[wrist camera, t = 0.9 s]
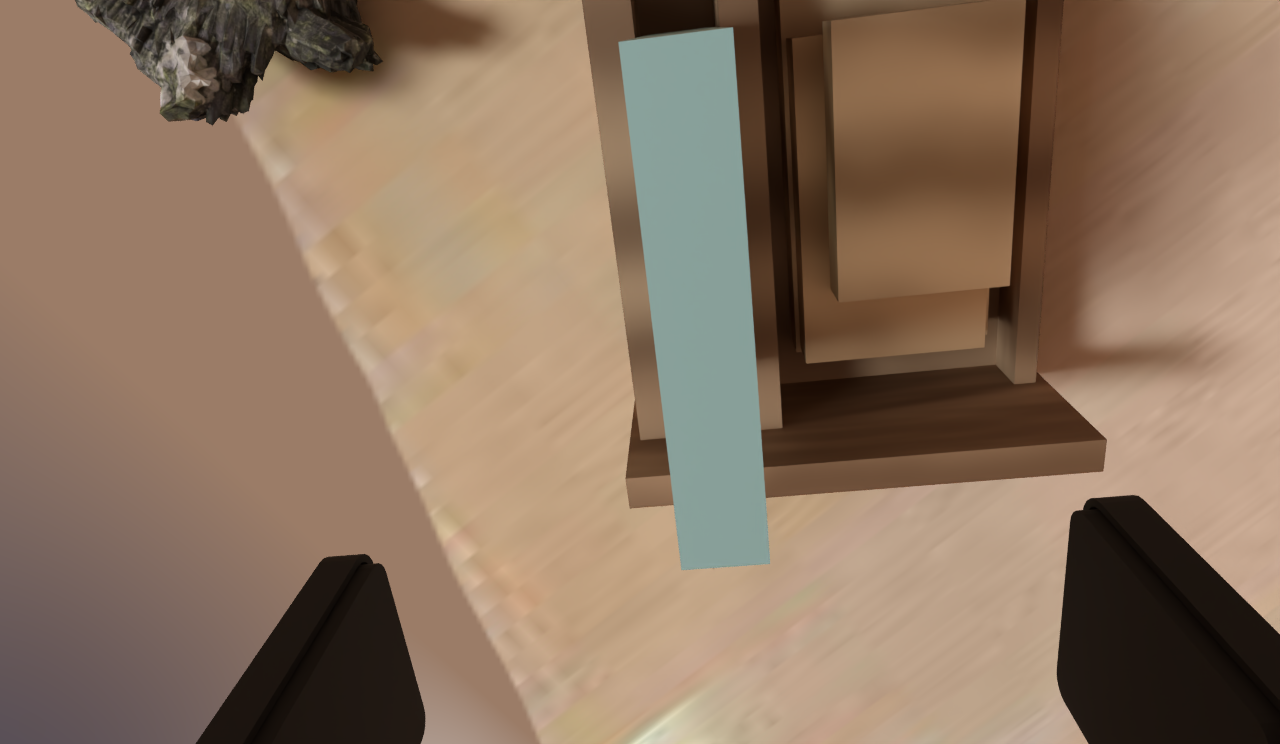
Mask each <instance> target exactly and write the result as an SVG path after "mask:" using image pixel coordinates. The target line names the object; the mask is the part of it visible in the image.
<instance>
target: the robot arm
mask: <svg viewBox="0 0 1280 744" xmlns="http://www.w3.org/2000/svg"><path fill="white" fill-rule="evenodd" d="M1057 680H1058V686H1059V690H1060V693H1061V696H1062V698H1063V700H1064V702H1065V704H1066V706H1067V707H1068V709H1069V711H1070V713H1071V714H1072V716H1073V718H1074V719H1075V721H1076V723H1077V725H1078V726H1079V728H1080V730H1081V731H1082V733H1083V735H1084V737H1085V738H1086V740H1087V742H1088V743H1089V744H1280V634H1279V633H1278V632H1277V631H1276V630H1275V629H1274V628H1273V627H1272V626H1271V625H1270V624H1269V623H1268V622H1267V621H1266V620H1265V619H1264V618H1263V617H1262V616H1261V615H1260V614H1259V613H1258V612H1257V611H1256V610H1255V609H1254V608H1253V607H1252V606H1251V605H1250V604H1248V603H1247V602H1246V601H1245V600H1244V599H1243V598H1242V597H1241V596H1240V595H1239V594H1238V593H1237V592H1236V591H1235V590H1234V589H1233V588H1232V587H1231V586H1230V585H1229V584H1228V583H1227V582H1226V581H1225V580H1224V579H1223V578H1222V577H1221V576H1220V575H1219V574H1218V573H1217V572H1216V571H1215V570H1214V569H1213V568H1212V567H1211V566H1210V565H1209V564H1208V563H1207V562H1206V561H1205V560H1204V559H1203V558H1202V557H1201V556H1200V555H1199V554H1198V553H1197V552H1196V551H1195V550H1194V549H1193V548H1192V547H1191V546H1190V545H1189V544H1188V543H1187V542H1186V541H1185V540H1184V539H1183V538H1182V537H1181V536H1180V535H1179V534H1178V533H1177V532H1176V531H1175V530H1174V529H1173V528H1172V527H1171V526H1170V525H1169V524H1168V523H1167V522H1166V521H1165V520H1164V519H1163V518H1162V517H1161V516H1160V515H1159V514H1158V513H1157V512H1156V511H1155V510H1154V509H1153V508H1152V507H1150V506H1149V505H1148V504H1147V503H1146V502H1145V501H1144V500H1143V499H1142V498H1140V497H1139V496H1135V495H1129V496H1116V497H1103V498H1091V499H1089V500H1087V501H1086V503H1085V505H1084V508H1083V510H1079V511H1075V512H1073V514H1072V516H1071V521H1070V530H1069V541H1068V552H1067V563H1066V574H1065V585H1064V596H1063V607H1062V618H1061V629H1060V640H1059V651H1058V662H1057ZM424 730H425V711H424V706H423V702H422V699H421V695H420V692H419V688H418V684H417V681H416V677H415V674H414V670H413V667H412V663H411V660H410V656H409V652H408V649H407V646H406V642H405V639H404V635H403V631H402V628H401V624H400V620H399V617H398V613H397V610H396V606H395V602H394V599H393V595H392V592H391V588H390V585H389V581H388V578H387V574H386V571H385V569H384V567H383V566H382V565H381V564H379V563H377V564H373V561H372V560H371V558H370V557H369V556H368V555H366V554H359V555H347V556H333V557H326V558H324V559H323V560H322V561H321V562H320V563H319V565H318V566H317V567H316V569H315V570H314V572H313V573H312V575H311V576H310V578H309V579H308V581H307V582H306V584H305V585H304V586H303V588H302V589H301V591H300V592H299V594H298V595H297V597H296V598H295V599H294V601H293V602H292V604H291V605H290V607H289V608H288V610H287V611H286V613H285V614H284V616H283V617H282V619H281V620H280V622H279V623H278V624H277V626H276V627H275V629H274V630H273V632H272V633H271V635H270V636H269V638H268V639H267V640H266V642H265V643H264V645H263V646H262V648H261V649H260V651H259V652H258V653H257V655H256V656H255V658H254V659H253V661H252V662H251V664H250V666H249V667H248V668H247V670H246V671H245V672H244V674H243V675H242V677H241V678H240V680H239V681H238V683H237V684H236V686H235V687H234V689H233V690H232V691H231V693H230V694H229V696H228V697H227V699H226V700H225V702H224V703H223V705H222V706H221V707H220V709H219V711H218V712H217V713H216V715H215V716H214V718H213V719H212V721H211V722H210V724H209V725H208V726H207V728H206V729H205V731H204V732H203V734H202V735H201V737H200V738H199V740H198V741H197V742H196V744H421V741H422V738H423V735H424Z"/></svg>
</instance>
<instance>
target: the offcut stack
mask: <svg viewBox="0 0 1280 744" xmlns="http://www.w3.org/2000/svg"><path fill="white" fill-rule="evenodd" d="M774 8H775V27H776V47H777V66H778V86H779V106H780V125H781V145H782V165H783V184H784V204H785V223H786V243H787V263H788V282H789V302H790V322H791V338H792V341H793V344H794V347H795V349H796V352H802V353H803V356H804V359H805V361H806V364H809V363H820V362H831V361H842V360H853V359H864V358H874V357H885V356H896V355H907V354H918V353H929V352H940V351H951V350H961V349H972V348H983V347H985V335H987V328H988V307H989V288H993V287H1004V286H1010V272H1011V255H1012V237H1013V220H1014V202H1015V184H1016V167H1017V149H1018V132H1019V114H1020V97H1021V79H1022V61H1023V44H1024V26H1025V9H1026V0H774Z"/></svg>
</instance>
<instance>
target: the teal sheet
mask: <svg viewBox="0 0 1280 744" xmlns="http://www.w3.org/2000/svg"><path fill="white" fill-rule="evenodd" d="M618 43H619V51H620V60H621V68H622V77H623V85H624V93H625V102H626V110H627V118H628V127H629V135H630V143H631V152H632V160H633V168H634V177H635V185H636V193H637V202H638V210H639V219H640V227H641V235H642V244H643V252H644V260H645V269H646V277H647V285H648V294H649V302H650V310H651V319H652V327H653V335H654V344H655V352H656V360H657V369H658V377H659V386H660V394H661V402H662V411H663V419H664V427H665V436H666V444H667V452H668V461H669V469H670V477H671V486H672V494H673V502H674V511H675V519H676V527H677V536H678V544H679V553H680V561H681V569H682V570H691V569H705V568H719V567H733V566H747V565H761V564H770V554H769V540H768V525H767V511H766V496H765V482H764V467H763V453H762V439H761V424H760V410H759V395H758V381H757V367H756V352H755V338H754V323H753V309H752V294H751V280H750V266H749V251H748V237H747V222H746V208H745V194H744V179H743V165H742V150H741V136H740V121H739V107H738V93H737V78H736V64H735V49H734V35H733V27H705V28H698V29H690V30H682V31H674V32H667V33H659V34H651V35H646V36H642V37H637V38H633V39H629V40H625V41H620V42H618Z"/></svg>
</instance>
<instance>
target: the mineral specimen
mask: <svg viewBox="0 0 1280 744" xmlns="http://www.w3.org/2000/svg"><path fill="white" fill-rule="evenodd" d="M75 1H76V3H77V6H78V7H79V8H80V9H82V10H83V11H84V12H85V13H87V14H88V15H89V16H90V17H91V18H92V19H93V20H94V22H99V23H100V24H102V25H103V26H105V27H106V28H107V29H109V30H110V31H112V32H113V33H114V34H115V35H117V37H119V38H120V39H121V40H122V41H124V42H125V43H127V44H128V46H129V47H130V48H131V52H130V55H131V56H132V58H133V59H134V61H135V63H136V66H137V68H138V69H139V70H140V71H141V72H142V73H143V74H145V75H146V76H147V77H148V78H150V79H151V80H152V81H153V82H155V83H156V84H158V85H159V86H160V87H161V95H160V103H161V110H160V114H161V115H162V116H163V117H164V118H165V119H166V120H167V121H182V120H195V121H199V120H201V119H204V118H206V122H208V123H209V124H211V125H213V124H214V123H215V122H216V120H217V119H218V118H220V119H221V120H224V121H226V122H227V120H228V118H229V116H230V114H233V115H236V116H237V114H238V112H240V113H243V114H244V112H247V111H249V108H250V103H251V101H252V100H253V95H254V86H255V84H256V83H257V79H258V76H259V77H260V78H261V80H262V81H263V77H264V72H265V70H266V68H267V66H268V64H269V62H270V60H271V58H272V56H273V54H274V51H275V50H276V51H277V52H279V53H281V54H283V55H284V56H286V57H287V58H289V59H291V60H295V61H298V62H300V63H302V64H303V65H305V66H306V67H307V68H309V69H310V70H314V69H317V68H320V67H321V68H323V69H325V70H327V71H329V72H335V71H338V70H345V71H347V72H349V73H350V72H351V71H352V70H353V69H354V68H357V69H359V70H367V71H373V64H375V65H378V64H380V63H381V62H383V61H382V60H381V59H380V57H379V56H378V55H377V54H376V52H375V51H374V49H373V38H372V35H371V31H370V29H369V27H368V26H367V25H365V24H362V23H361V16H360V13H359V11H358V8H357V0H75Z"/></svg>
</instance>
